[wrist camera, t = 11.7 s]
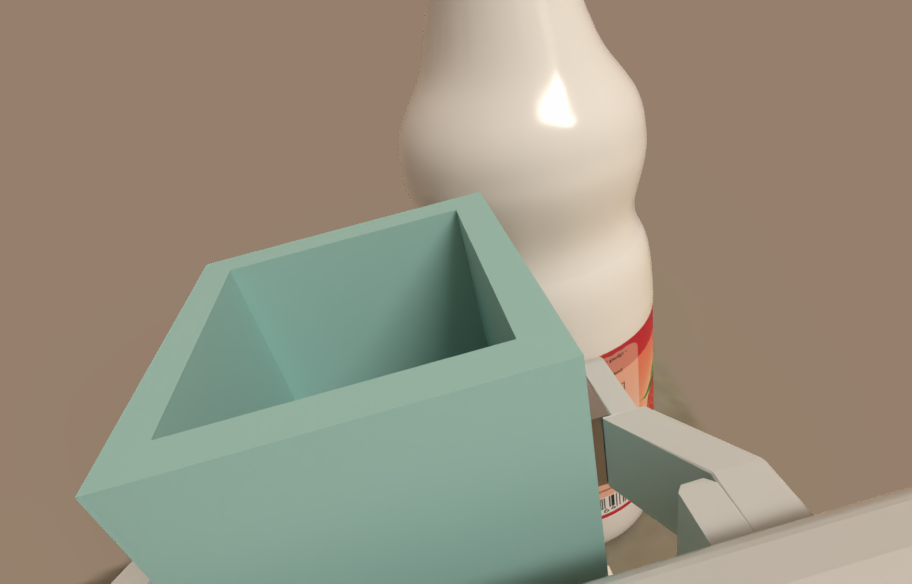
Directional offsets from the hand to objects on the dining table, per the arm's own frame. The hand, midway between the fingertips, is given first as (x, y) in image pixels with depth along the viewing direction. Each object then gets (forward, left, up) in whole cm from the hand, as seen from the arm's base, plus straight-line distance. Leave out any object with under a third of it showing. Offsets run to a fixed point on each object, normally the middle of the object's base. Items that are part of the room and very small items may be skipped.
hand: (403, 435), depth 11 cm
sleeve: (0, -1, -5) cm, 5 cm away
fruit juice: (+6, +11, -17) cm, 22 cm away
